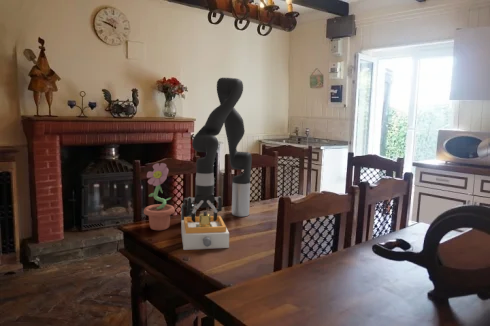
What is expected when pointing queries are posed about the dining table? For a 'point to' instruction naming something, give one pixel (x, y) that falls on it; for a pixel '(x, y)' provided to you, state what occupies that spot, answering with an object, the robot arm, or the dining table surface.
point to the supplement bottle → (184, 209)
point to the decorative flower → (158, 212)
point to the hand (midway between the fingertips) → (204, 221)
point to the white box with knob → (204, 234)
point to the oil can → (204, 220)
